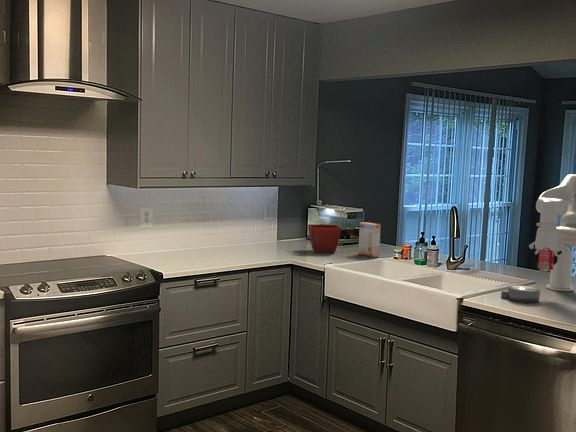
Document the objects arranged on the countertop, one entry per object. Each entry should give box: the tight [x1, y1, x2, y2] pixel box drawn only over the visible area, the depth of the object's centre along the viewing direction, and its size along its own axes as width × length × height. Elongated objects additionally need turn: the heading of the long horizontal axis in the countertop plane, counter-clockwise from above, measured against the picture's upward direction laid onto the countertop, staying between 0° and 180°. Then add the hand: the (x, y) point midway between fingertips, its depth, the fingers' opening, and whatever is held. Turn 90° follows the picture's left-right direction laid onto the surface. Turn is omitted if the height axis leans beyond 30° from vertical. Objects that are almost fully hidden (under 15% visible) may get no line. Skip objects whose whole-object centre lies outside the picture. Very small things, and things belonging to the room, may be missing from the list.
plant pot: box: [307, 224, 342, 254], centre depth 416 cm, size 19×19×17 cm
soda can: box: [537, 246, 555, 272], centre depth 302 cm, size 7×7×12 cm
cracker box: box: [357, 221, 381, 258], centre depth 405 cm, size 14×6×21 cm, turn 34°
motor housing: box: [500, 285, 541, 305], centre depth 294 cm, size 14×16×6 cm
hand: (546, 263), depth 302 cm, fingers closed on soda can, 7 cm apart
